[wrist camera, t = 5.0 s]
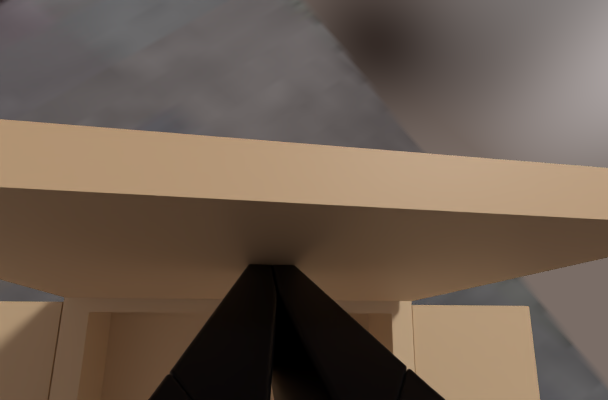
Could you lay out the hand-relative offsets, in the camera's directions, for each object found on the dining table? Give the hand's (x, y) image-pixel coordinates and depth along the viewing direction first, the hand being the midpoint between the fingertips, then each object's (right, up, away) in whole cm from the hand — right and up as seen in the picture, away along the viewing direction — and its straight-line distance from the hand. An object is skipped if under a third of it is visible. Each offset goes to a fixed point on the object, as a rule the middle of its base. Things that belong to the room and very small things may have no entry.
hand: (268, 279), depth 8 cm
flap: (-1, -1, +6) cm, 6 cm away
